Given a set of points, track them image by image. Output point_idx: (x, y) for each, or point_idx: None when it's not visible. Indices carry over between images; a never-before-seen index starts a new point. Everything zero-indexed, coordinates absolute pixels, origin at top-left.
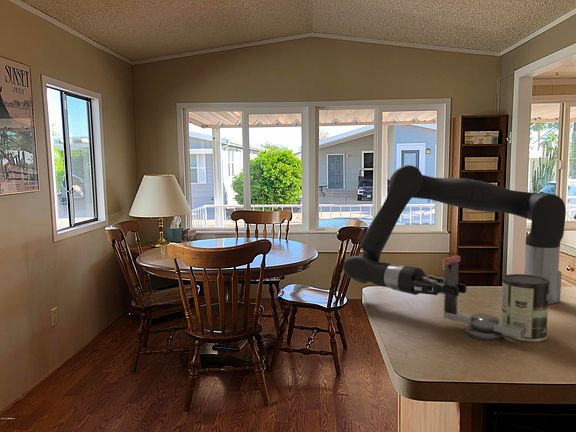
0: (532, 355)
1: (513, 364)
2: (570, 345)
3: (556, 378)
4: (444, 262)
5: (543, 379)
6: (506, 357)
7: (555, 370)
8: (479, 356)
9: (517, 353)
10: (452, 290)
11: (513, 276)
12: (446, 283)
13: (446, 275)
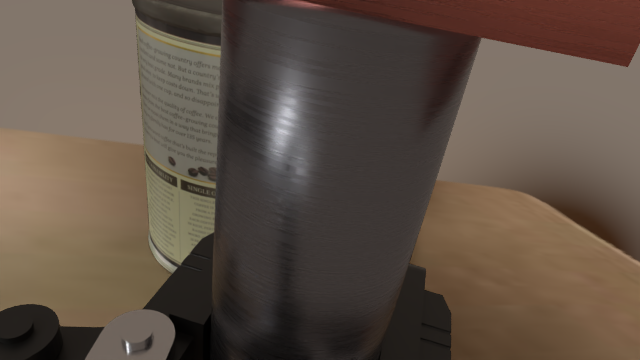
0: (424, 227)
1: (538, 266)
2: None
3: (526, 205)
4: (635, 21)
5: (559, 222)
6: (504, 279)
7: (482, 201)
8: (584, 349)
9: (442, 254)
10: (447, 321)
11: (193, 4)
12: (377, 356)
13: (401, 265)
